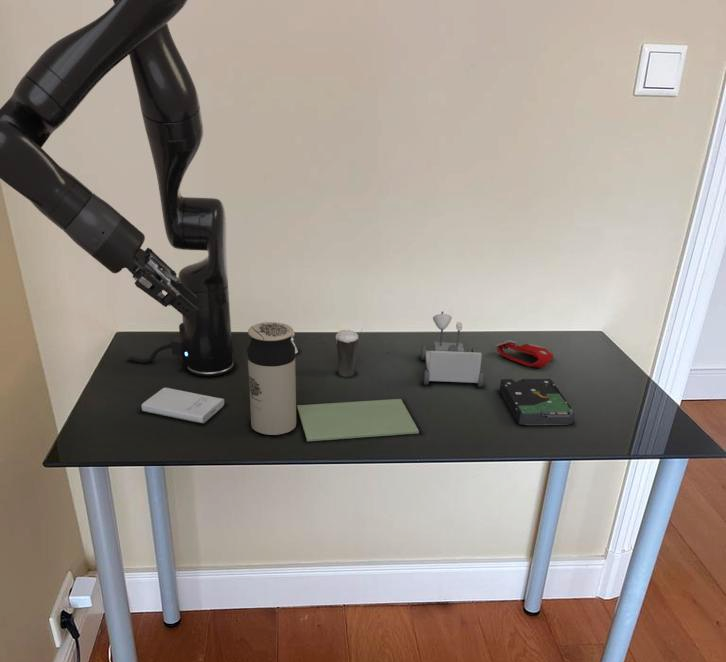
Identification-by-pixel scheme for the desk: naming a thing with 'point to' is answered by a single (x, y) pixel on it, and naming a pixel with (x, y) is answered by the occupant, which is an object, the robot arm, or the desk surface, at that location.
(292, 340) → the chess pawn
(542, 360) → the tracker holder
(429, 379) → the toy car
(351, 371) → the milkshake
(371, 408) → the mat
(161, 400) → the hard drive
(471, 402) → the desk surface
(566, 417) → the disk drive
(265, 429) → the travel mug
